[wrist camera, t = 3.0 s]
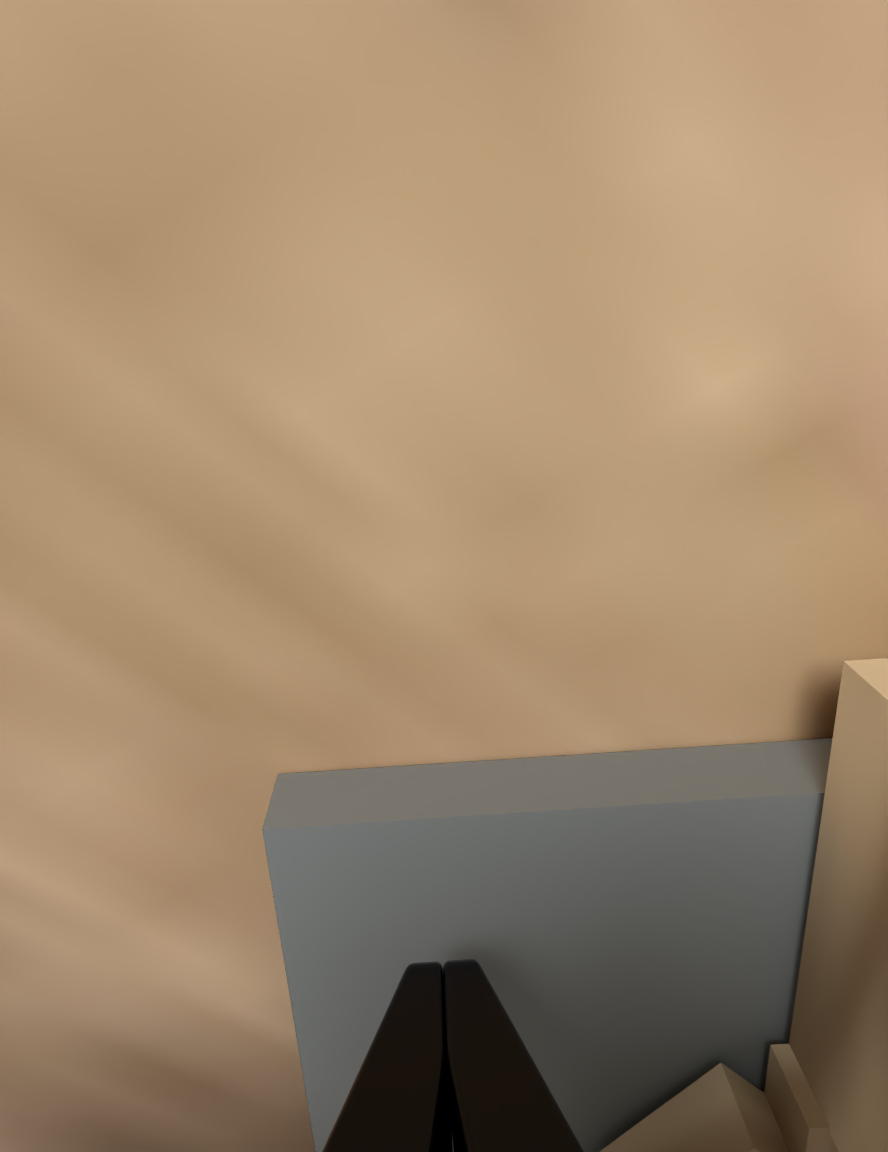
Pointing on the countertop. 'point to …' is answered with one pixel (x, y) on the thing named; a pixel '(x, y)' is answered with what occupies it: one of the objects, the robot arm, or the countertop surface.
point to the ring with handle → (818, 978)
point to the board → (556, 911)
